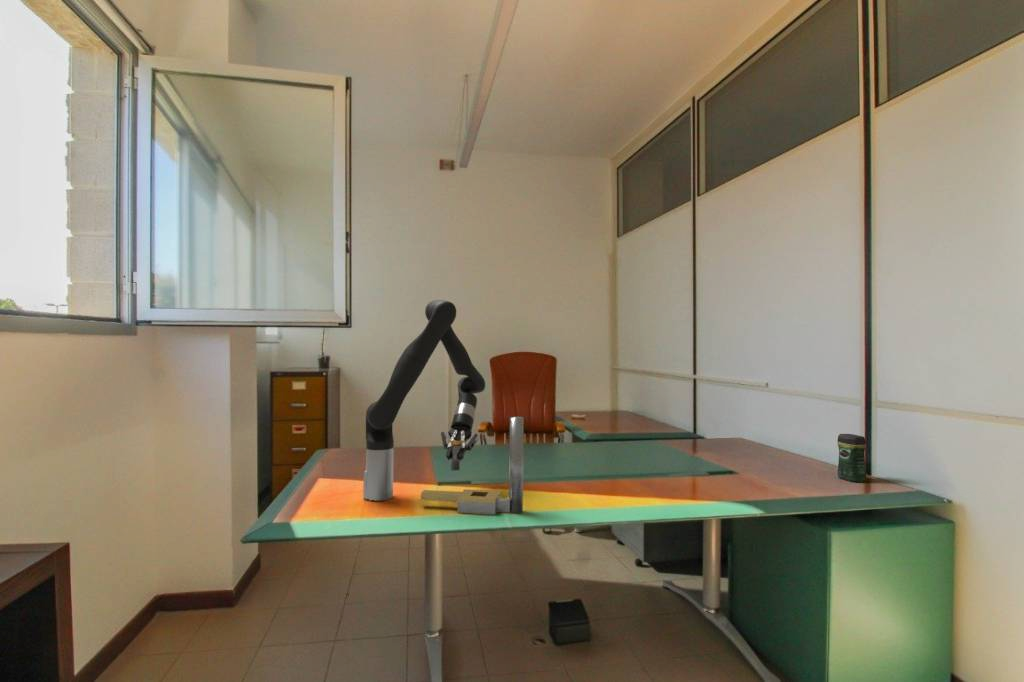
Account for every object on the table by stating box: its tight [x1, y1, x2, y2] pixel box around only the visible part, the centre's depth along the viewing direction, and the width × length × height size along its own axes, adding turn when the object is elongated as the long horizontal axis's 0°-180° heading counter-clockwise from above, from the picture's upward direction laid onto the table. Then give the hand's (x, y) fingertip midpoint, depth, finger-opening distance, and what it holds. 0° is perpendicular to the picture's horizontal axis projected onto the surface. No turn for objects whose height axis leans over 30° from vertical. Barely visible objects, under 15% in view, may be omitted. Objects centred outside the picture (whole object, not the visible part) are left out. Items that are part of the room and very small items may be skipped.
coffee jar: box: [837, 433, 868, 483], centre depth 207 cm, size 10×8×19 cm
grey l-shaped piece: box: [420, 416, 524, 516], centre depth 164 cm, size 33×9×30 cm, turn 82°
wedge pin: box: [450, 439, 462, 471], centre depth 174 cm, size 4×4×10 cm
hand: (454, 458), depth 172 cm, fingers closed on wedge pin, 3 cm apart
